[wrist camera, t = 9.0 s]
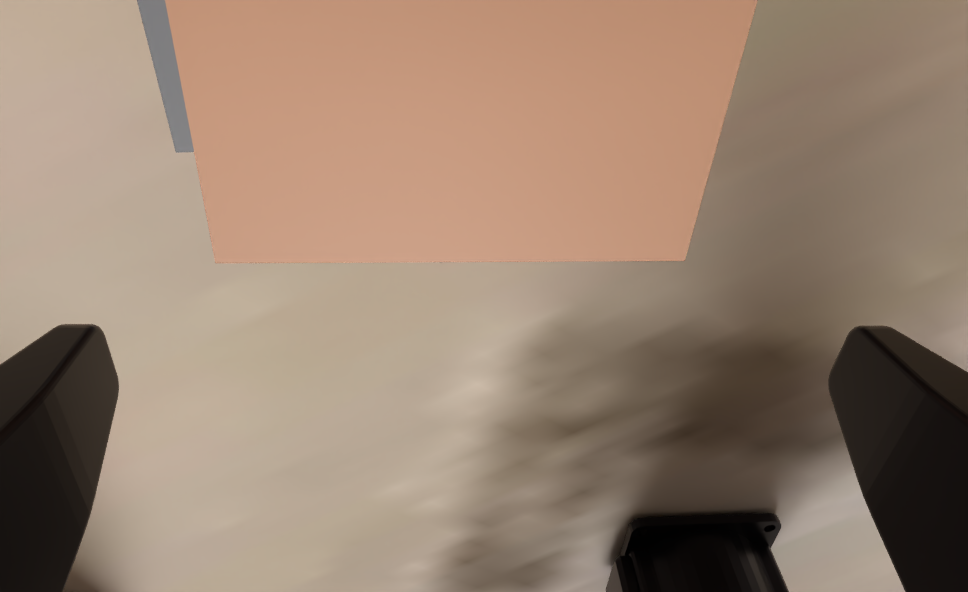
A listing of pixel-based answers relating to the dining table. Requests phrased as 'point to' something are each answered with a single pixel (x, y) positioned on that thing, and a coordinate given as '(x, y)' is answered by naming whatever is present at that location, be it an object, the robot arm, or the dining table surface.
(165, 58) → the slate grey panel
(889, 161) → the dining table surface
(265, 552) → the dining table surface
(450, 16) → the terracotta block
